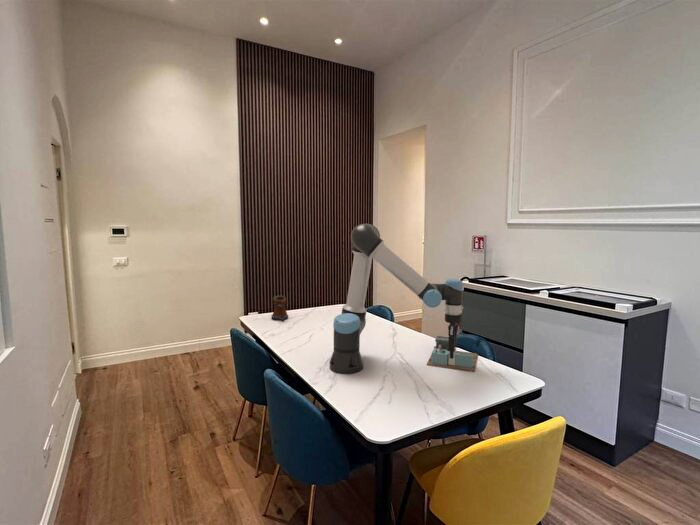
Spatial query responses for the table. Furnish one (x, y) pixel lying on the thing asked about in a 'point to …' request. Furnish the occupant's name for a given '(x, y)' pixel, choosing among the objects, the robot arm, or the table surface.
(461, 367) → the board
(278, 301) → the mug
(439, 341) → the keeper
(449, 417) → the table surface
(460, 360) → the link
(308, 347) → the table surface
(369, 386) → the table surface
